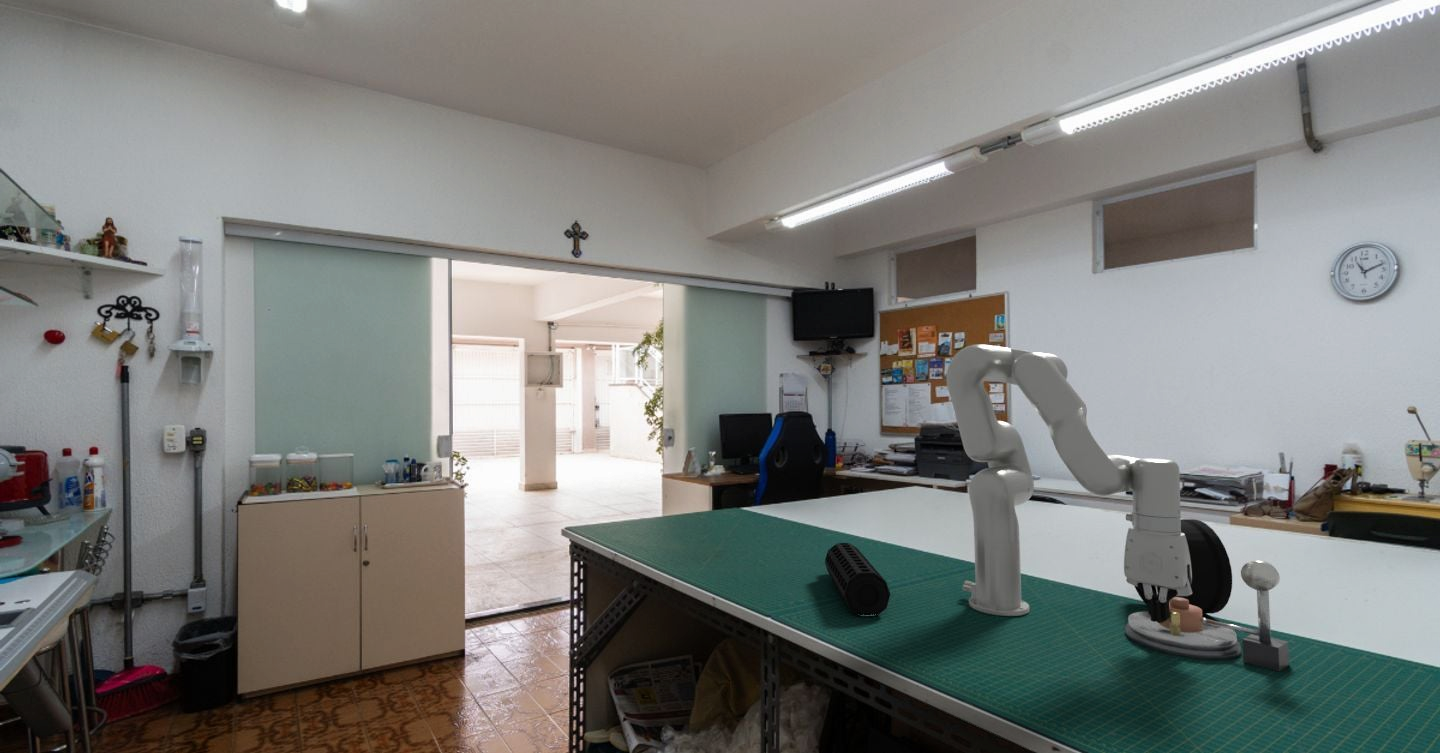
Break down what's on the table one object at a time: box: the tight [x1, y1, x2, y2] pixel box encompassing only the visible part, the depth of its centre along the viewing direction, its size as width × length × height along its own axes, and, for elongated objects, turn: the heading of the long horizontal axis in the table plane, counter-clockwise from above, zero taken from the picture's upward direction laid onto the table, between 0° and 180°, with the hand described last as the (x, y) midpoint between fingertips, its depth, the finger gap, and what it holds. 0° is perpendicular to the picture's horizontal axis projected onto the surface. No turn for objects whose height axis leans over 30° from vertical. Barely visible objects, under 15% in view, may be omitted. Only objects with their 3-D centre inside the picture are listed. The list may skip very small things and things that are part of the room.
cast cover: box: [1159, 597, 1203, 632], centre depth 123 cm, size 7×7×5 cm
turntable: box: [1127, 610, 1238, 650], centre depth 123 cm, size 17×17×6 cm
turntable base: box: [1125, 622, 1242, 661], centre depth 123 cm, size 18×18×1 cm
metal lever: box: [1201, 559, 1290, 673], centre depth 116 cm, size 12×5×18 cm, turn 34°
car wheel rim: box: [1132, 518, 1233, 614], centre depth 141 cm, size 20×10×20 cm, turn 175°
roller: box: [824, 542, 891, 616], centre depth 157 cm, size 38×10×10 cm, turn 179°
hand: (1159, 620), depth 121 cm, fingers closed
